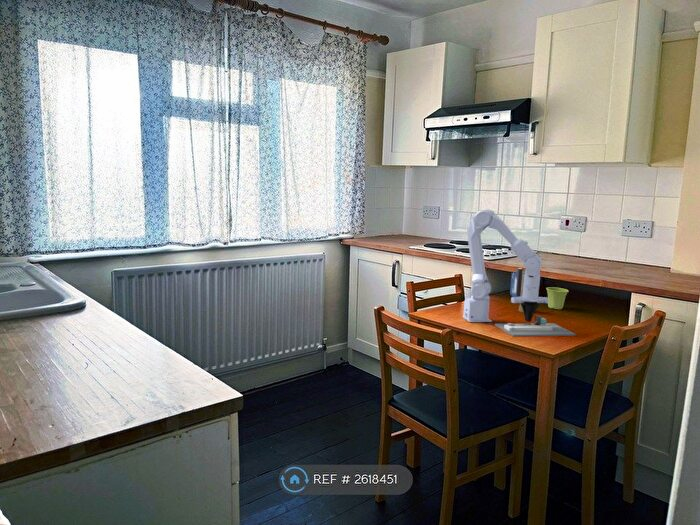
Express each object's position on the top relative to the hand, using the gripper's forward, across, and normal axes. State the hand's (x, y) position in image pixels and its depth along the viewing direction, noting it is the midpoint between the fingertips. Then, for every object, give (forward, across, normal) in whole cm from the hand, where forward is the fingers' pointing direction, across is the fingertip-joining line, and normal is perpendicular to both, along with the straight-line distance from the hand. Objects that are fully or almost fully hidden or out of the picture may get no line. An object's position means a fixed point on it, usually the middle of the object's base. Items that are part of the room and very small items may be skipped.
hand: (527, 321), depth 203 cm
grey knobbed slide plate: (+2, 0, -4) cm, 5 cm away
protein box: (+3, +27, +53) cm, 60 cm away
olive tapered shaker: (+3, +13, +25) cm, 29 cm away
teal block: (+2, +5, -1) cm, 6 cm away
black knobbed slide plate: (+2, -1, -4) cm, 4 cm away
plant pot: (+3, +31, +31) cm, 44 cm away
